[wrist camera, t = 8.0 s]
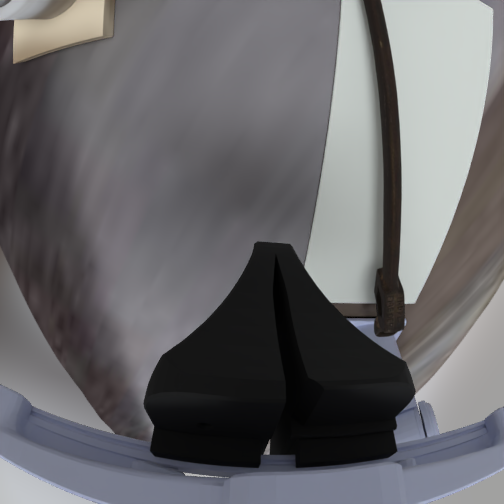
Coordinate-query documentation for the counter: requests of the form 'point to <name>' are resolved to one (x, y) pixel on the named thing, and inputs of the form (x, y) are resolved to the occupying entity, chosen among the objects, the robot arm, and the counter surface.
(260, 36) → the counter surface
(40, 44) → the cup on beige base
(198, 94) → the counter surface
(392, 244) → the dark brown hooked rod
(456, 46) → the tool mat
